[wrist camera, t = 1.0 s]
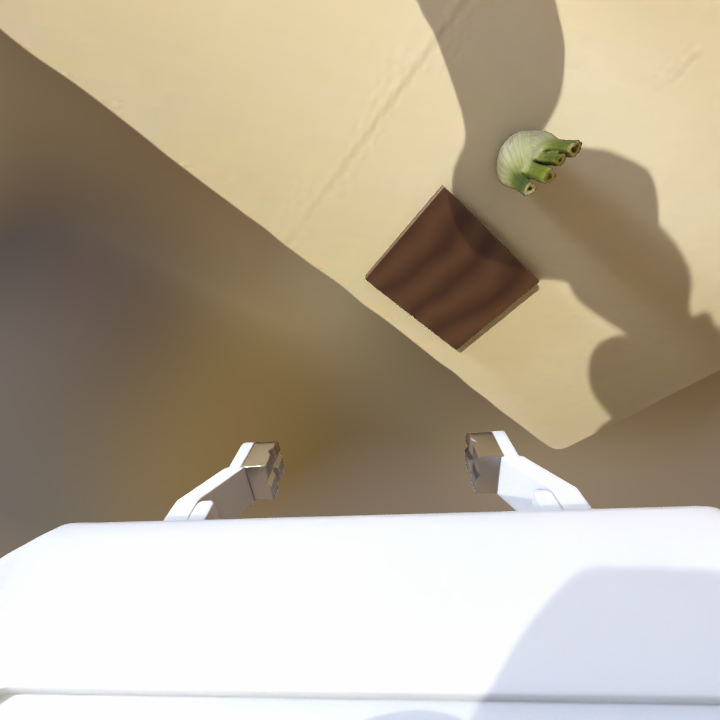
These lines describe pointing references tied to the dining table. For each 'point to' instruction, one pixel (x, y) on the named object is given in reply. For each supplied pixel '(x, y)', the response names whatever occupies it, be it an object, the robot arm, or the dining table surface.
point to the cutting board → (450, 271)
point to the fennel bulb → (532, 158)
